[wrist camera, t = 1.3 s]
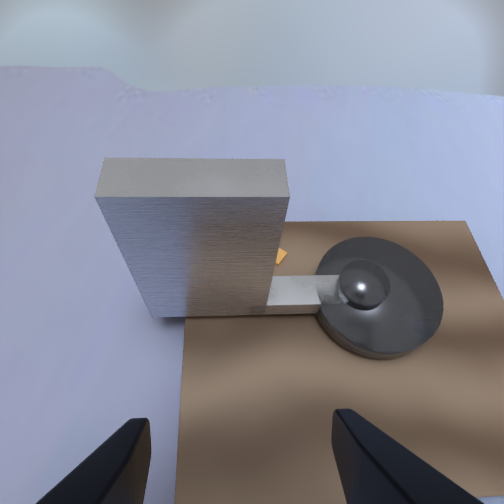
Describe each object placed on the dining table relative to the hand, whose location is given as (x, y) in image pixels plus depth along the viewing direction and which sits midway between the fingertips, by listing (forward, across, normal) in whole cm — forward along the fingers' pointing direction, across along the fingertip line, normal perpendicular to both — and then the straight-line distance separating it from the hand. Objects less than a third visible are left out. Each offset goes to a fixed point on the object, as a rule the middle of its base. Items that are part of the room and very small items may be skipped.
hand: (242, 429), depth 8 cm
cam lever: (+14, -4, +2) cm, 15 cm away
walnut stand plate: (+14, -8, +5) cm, 17 cm away
